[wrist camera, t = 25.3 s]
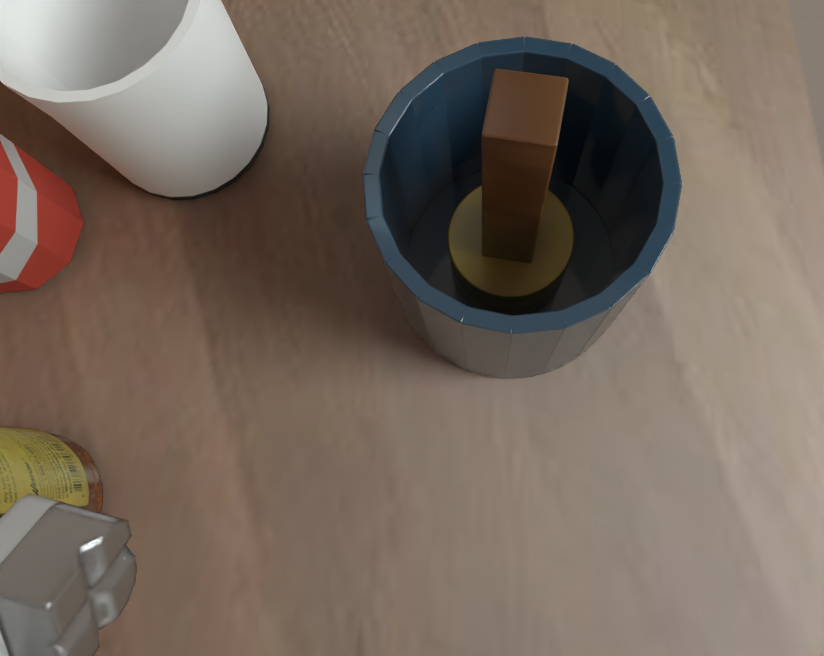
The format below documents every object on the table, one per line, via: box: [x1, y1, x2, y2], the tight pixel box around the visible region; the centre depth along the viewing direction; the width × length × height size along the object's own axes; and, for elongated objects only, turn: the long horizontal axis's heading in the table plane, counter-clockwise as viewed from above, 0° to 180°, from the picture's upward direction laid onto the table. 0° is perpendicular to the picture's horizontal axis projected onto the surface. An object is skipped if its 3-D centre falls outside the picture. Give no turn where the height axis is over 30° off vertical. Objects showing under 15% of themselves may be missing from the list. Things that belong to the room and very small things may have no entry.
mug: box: [0, 0, 269, 199], centre depth 33 cm, size 11×9×10 cm
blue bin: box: [362, 37, 682, 378], centre depth 30 cm, size 10×10×10 cm
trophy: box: [448, 69, 574, 315], centre depth 27 cm, size 5×5×14 cm
